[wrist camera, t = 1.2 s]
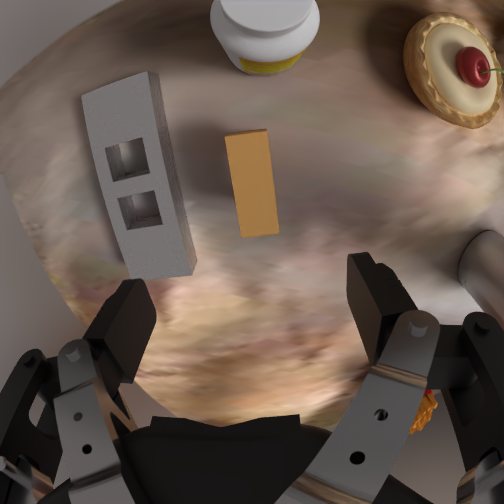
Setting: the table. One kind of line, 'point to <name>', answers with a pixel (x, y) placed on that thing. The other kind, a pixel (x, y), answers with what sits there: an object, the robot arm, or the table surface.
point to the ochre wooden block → (252, 182)
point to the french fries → (424, 411)
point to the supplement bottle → (264, 32)
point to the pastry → (453, 70)
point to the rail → (139, 176)
